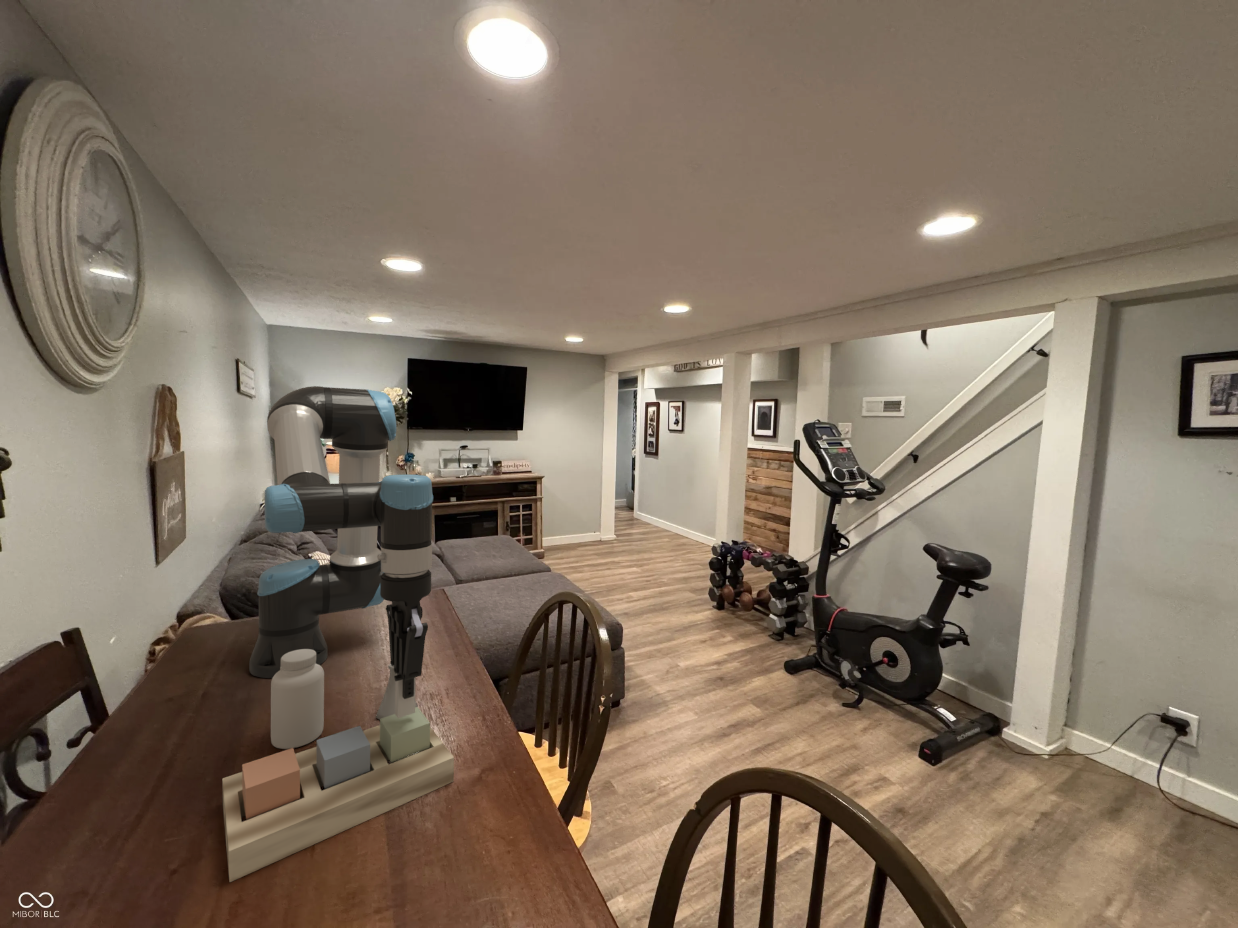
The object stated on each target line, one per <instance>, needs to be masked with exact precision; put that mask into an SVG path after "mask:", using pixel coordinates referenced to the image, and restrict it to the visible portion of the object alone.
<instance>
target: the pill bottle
mask: <svg viewBox="0 0 1238 928" xmlns="http://www.w3.org/2000/svg"><path fill="white" fill-rule="evenodd" d="M324 708H325V671H324V668H323V667H322V665H321V664H320V665H318V664H316V652H315V651H314V650H311V649H300V650H295V651H291V652H288V653H286V654H285V655H283V656H282V657H281V667H280V671H278V672H277V673H276V674H275V675H274V677H273V678H271V681H270V742H271V745H272V746H273V747H275V748H276V749H282V750H288V749H291V748H293V749H295V748H299V747H302V746H306V745H308V744H310V743H312V742H313V741H315V740H317V739H318V738H319V737H320V736H321V735H322V733H323V731H324V725H325V721H324V719H325V715H324V714H325V709H324Z"/></svg>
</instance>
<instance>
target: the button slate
mask: <svg viewBox="0 0 1238 928" xmlns="http://www.w3.org/2000/svg"><path fill="white" fill-rule="evenodd" d="M363 731H364V730H363V728H362V727H361V725H358V726H354V727H352V728H349V729H346V730H343V731H339V732H336V733H334V734H331V735H328V736H325V737H321V738H319V739H318V738H317V739H316V747H317V769H318V772H319V775H320V777H321V780H322V783H323V786H322V787H323V788H324V789H328V788H330V787H333V786H335V785H338V784H340V783H343V782H345V781H348V780H351V779H353V778H356V777H358V776H361V775H363V774H364V773H366V772H369V771H370V743H369V741H368V739H367V738H366V736H365V734H364V732H363Z"/></svg>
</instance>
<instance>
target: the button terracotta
mask: <svg viewBox="0 0 1238 928" xmlns="http://www.w3.org/2000/svg"><path fill="white" fill-rule="evenodd" d="M294 749H295V748H290V749H284V750H282V751H280V752H276V753H273V754H271V755H266V756H264V757H262V758H258V759H255V760H252V761H249V762H245V763H243V764H242V765H241V769H242V770H241V772H242V794H243V801H244V808H245V815H246V816H245V819H246V820H249V819H251V818H254V817H256V816H259V815H261V814H264V813H266V812H269V811H272V810H274V809H277V808H279V807H282V806H284V805H287V804H289V803H292V802H295V801H297V800H298V799H300V768H299V765H298V762H297V759H296V756H295V754H296V753H295V750H294Z"/></svg>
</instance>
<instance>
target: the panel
mask: <svg viewBox="0 0 1238 928" xmlns="http://www.w3.org/2000/svg"><path fill="white" fill-rule="evenodd" d="M363 732H364V734H365V736H366V738H367V739H368V741H369V743H370V771H369V772H366V773H364V774H361V775H358V776H356V777H353V778H351V779H348V780H346V781H343V782H341V783H338V784H335V785H333V786H330V787H328V788H324V789H323V790H322V789H321V787H324V786H323V783H322V780H321V777H320V775H319V772H318V769H317V746H314V747H312V748H309V749H306V750H305V749H304V750H302V751H299V752H297V753H295V756H296V759H297V762H298V765H299V768H300V799H297V800H295V801H292V802H289V803H287V804H284V805H282V806H279V807H277V808H274V809H272V810H269V811H267V812H264V813H261V814H259V815H256V816H254V817H251V818H249V819H246V820H243V821H242V818H243V817H246V815H245V808H244V801H243V794H242V771H241V772H238V773H237V772H236V773H235V774H232V775H229V776H226V777H223V778H222V785H221V786H222V812H223V813H222V814H223V824H224V825H223V826H224V836H225V846H226V857H227V858H226V859H227V868H228V869H227V870H228V880H229V883H232V882H234V881H236V880H239V879H241V878H242V877H243V878H244V876H245V877H246V876H247V875H249V874H251V873H254V872H256V871H258V870H261V869H262V868H265V867H267V866H269V865H272V864H273V863H276V862H279V861H280V860H283V859H285V858H287V857H289V856H291V855H294V854H296V853H298V852H300V851H302V850H304V849H307V848H309V847H312V846H314V845H316V844H318V843H321V842H322V841H324V840H326V839H329V838H332V837H334V836H336V835H338V834H340V833H342V832H344V831H347V830H349V829H351V828H354V827H355V826H358V825H360V824H362V823H364V822H367V821H369V820H371V819H374V818H376V817H378V816H381V815H382V814H384V813H387V812H389V811H391V810H393V809H396V808H398V807H400V806H402V805H405V804H407V803H408V802H411V801H413V800H415V799H417V798H420V797H423V796H424V795H426V794H429V793H430V792H433V791H436V790H437V789H440V788H442V787H444V786H445V787H446V786H447V785H448V784H451V783H453V782H454V781H455V776H454V775H455V756H454V755H453V753H451V751H450V750H449V749H448V748H447V746H446V745H445V744H444V742H443V741H442V740H441V739H440V737H439V736H438V735H437V734H436V732H435V731H434V730H433V729H432V727H431V726H430V748H427V749H425V750H422V751H420V752H417V753H415V754H412V755H410V756H407V757H404V758H402V759H399V760H397V761H394V762H392V763H391V762H390V763H388V761H390V760H389V758H388V757H387V755H386V753H385V752H384V750H383V748H382V746H381V745H380V724H379V725H376V726H374V727H370V728H366V729H365V730H363Z"/></svg>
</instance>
